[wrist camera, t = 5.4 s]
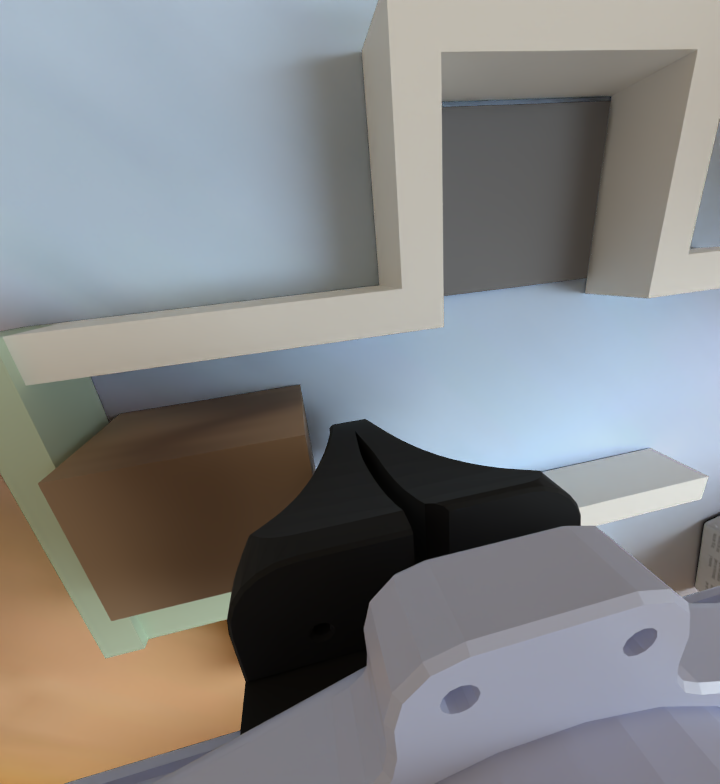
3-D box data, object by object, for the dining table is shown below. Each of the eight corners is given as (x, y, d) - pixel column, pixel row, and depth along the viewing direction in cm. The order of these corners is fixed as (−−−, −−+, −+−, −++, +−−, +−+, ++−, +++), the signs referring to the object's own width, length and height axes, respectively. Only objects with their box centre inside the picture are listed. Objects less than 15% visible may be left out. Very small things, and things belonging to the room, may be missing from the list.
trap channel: (746, 47, 11) (883, -20, 9) (623, 560, 19) (675, 604, 17) (-102, 54, 8) (-301, -57, 5) (183, 680, 16) (163, 760, 13)
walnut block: (299, 384, 12) (304, 434, 8) (318, 487, 14) (329, 568, 10) (120, 413, 11) (37, 483, 8) (162, 520, 13) (111, 621, 9)
